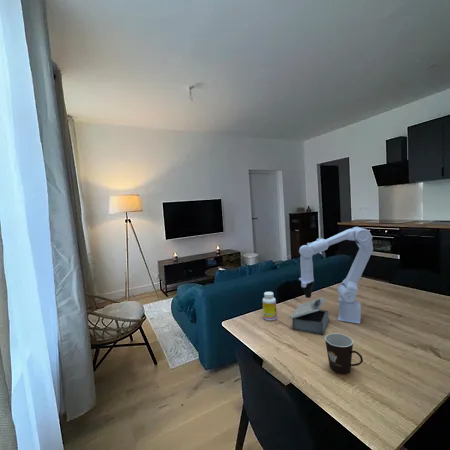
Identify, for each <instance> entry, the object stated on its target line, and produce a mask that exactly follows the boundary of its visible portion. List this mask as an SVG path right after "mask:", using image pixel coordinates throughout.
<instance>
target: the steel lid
mask: <svg viewBox="0 0 450 450" xmlns="http://www.w3.org/2000/svg"><path fill="white" fill-rule="evenodd" d="M325 299H326V297H324V296H322V297H319V298H317V299H313V300H310V301H306V302H304V303H300V304H298V305H297V307H296V308H295V310H294V311H292V312H293V313H292V314H291V315H290V319H291V320H292V318H295V317H299V316H302V315H306V314H309V313H312V312H316V311H319V310H321V307H322V305H323V303H324V301H325Z"/></svg>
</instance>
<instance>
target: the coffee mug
mask: <svg viewBox="0 0 450 450" xmlns="http://www.w3.org/2000/svg"><path fill="white" fill-rule="evenodd" d="M324 341H325V346H326V351H327V358H328V365H329V369H330V370H331V371H332V372H334V373H335V374H338V375H348V374H350V373H351V369H352V367H358V366H360V365H362V364H363V362H364V359H363V356H362V355H361V354H360V352H359V351H357V350H353V349H354V348H353V347H354V340H353V339H352V338H351V337H350V336H349V335H346V334H343V333H339V332H338V333H337V332H334V333H328V334H326V335H325V336H324ZM353 354H356V355H358V357H359V358H360V361H359V362H358V363H352V359H353V358H352V357H353Z"/></svg>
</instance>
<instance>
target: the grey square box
mask: <svg viewBox="0 0 450 450" xmlns="http://www.w3.org/2000/svg"><path fill="white" fill-rule="evenodd" d="M291 320H292V321H291V322H292V330H295V331H299V332H303V333H309V334H310V333H311V334H316V335H319V336H324V335H325V333H326V329H327V326H328V325H329V322H330V321H329V310H325V309H324V310H323V309H319V311H316V312H312V313H309V314H306V315H302V316H299V317H295V318H292V319H291Z"/></svg>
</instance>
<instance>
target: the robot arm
mask: <svg viewBox="0 0 450 450" xmlns="http://www.w3.org/2000/svg"><path fill="white" fill-rule="evenodd" d="M346 240H347V241H352V242H353V241H354V242H355V243H356V245H357V247H358V251H357V253H356V256H355V257H354V260H353V262H352V264H351V266H350V269H349V271H348V274H347V275H346V277H345V278H344V279H343V280H342V282H341V283H340V284H339V285H338V286H337V288H336V292H337V294H338V296H339V297H338V300H337V301H338V317H337V321H340V322H346V323H347V322H348V323H354V324H361V321H362V320H361V319H362V313H361V311H362V310H361V309H362V308H361V301H358V300H356V299H357V293H358V283H359V282H360V279H361V277H362V275H363V273H364V271H365V269H366V266H367V264H368V262H369V260H370V257H371V256H372V253H373V252H374V245H373V244H374V243H373V235H372V234H371V232H370V230H368V229H367V228H362V227H359V226H354V227H352V228H348V229H345V230H343V231H341V232H339V233H337V234H334V235H333V236H330V237H329V238H326V239H325V238H323V237H321V238H320V237H319V238H316V240H315V241H312V242H307V243H306V244H303V245H301V246H300V247H299V250H298V253H299V254H300V258H299V259H300V261H299V262H300V277H299V278H298V281H300V282H301V283H300V286H301V288H302V290H303V292H304V296H305V298H309V299H310V298H311V297H312V292H313V288H314V285H315V278H314V262H313V256H314V255H317V254H320V253H322V252H325V251H326V250H328V248H329V247H331V246H332V245H336V244H338V243H340V242H342V241H343V242H344V241H346Z"/></svg>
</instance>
